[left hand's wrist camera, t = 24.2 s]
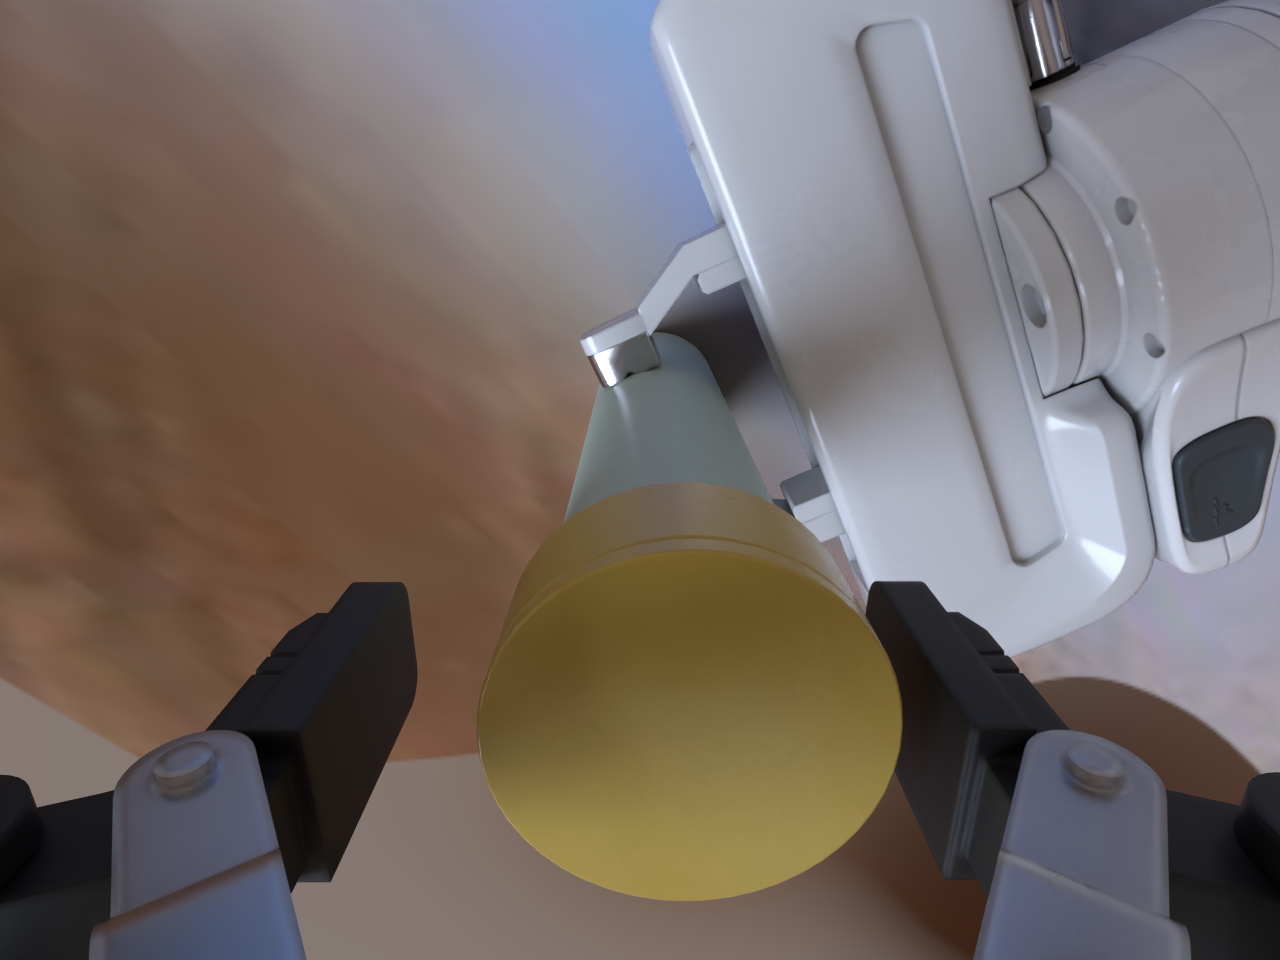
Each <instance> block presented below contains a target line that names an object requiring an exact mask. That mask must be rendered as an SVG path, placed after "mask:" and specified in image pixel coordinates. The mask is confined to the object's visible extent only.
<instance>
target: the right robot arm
mask: <svg viewBox="0 0 1280 960" xmlns="http://www.w3.org/2000/svg"><path fill="white" fill-rule="evenodd" d="M649 49H650V54H651V57H652V60H653V63H654V66H655V68H656V71H657V74H658V76H659V79H660V81H661V84H662V86H663V89H664V92H665V94H666V97H667V99H668V102H669V104H670V107H671V109H672V112H673V115H674V117H675V120H676V122H677V125H678V127H679V130H680V132H681V135H682V137H683V140H684V143H685V145H686V148H687V150H688V153H689V155H690V158H691V160H692V163H693V165H694V168H695V171H696V173H697V176H698V178H699V181H700V183H701V186H702V188H703V191H704V194H705V196H706V199H707V201H708V204H709V206H710V209H711V211H712V214H713V216H714V219H715V222H716V224H717V226H715V227H713V228H711V229H709V230H707V231H704V232H702V233H700V234H698V235H696V236H694V237H692V238H690V239H688V240H686V241H684V242H682V243H679V244H678V246H677V247H676V248H675V250H674V251H673V253H672V254H671V256H670V257H669V258H668V260H667V261H666V263H665V264H664V266H663V267H662V268H661V270H660V271H659V273H658V274H657V276H656V277H655V278H654V280H653V281H652V283H651V284H650V286H649V287H648V288H647V290H646V291H645V293H644V294H643V296H642V297H641V298H640V300H639V301H638V307H637V308H635V309H632V310H630V311H628V312H626V313H624V314H622V315H619V316H617V317H615V318H613V319H611V320H609V321H606V322H604V323H602V324H600V325H598V326H596V327H594V328H592V329H591V330H589V331H587V332H585V333H584V334H582V336H581V338H580V339H579V340H580V342H581V345H582V347H583V349H584V351H585V354H586V356H587V357H588V359H589V361H590V363H591V365H592V367H593V369H594V371H595V373H596V375H597V377H598V379H599V381H600V383H601V385H602V387H604V388H606V387H609V386H612V385H615V384H617V383H619V382H621V381H623V380H624V379H625V377H626V375H627V374H628V372H631V373H636V374H638V373H641V372H644V371H646V370H649V369H651V368H653V367H655V366H657V365H660V364H661V363H660V358H659V357H660V354H659V351H658V349H657V346H656V344H655V341H654V339H653V337H652V333H653V332H654V330H655V329H656V328H657V326H658V325H659V323H660V322H661V321H662V319H663V318H664V317H665V315H666V314H667V313H668V311H669V310H670V308H671V307H672V306H673V304H674V303H675V302H676V300H677V299H678V297H679V296H680V295H681V293H682V292H683V291H684V289H685V288H686V287H687V285H688V284H689V282H690V281H691V280H692V278H693V277H694V279H695V281H696V284H697V286H698V287H699V288H700V289H701V291H702V292H703V293H706V294H711V293H713V292H716V291H718V290H720V289H722V288H725V287H727V286H729V285H732V284H734V283H736V282H738V281H739V283H740V285H741V288H742V290H743V293H744V295H745V298H746V301H747V303H748V306H749V308H750V311H751V313H752V316H753V318H754V321H755V324H756V326H757V329H758V331H759V334H760V336H761V339H762V341H763V344H764V346H765V349H766V352H767V354H768V357H769V359H770V362H771V364H772V367H773V369H774V372H775V375H776V377H777V380H778V382H779V385H780V387H781V390H782V392H783V395H784V397H785V400H786V403H787V405H788V408H789V410H790V413H791V415H792V418H793V420H794V423H795V426H796V428H797V431H798V433H799V436H800V438H801V441H802V443H803V446H804V448H805V451H806V454H807V456H808V459H809V461H810V464H811V466H812V469H810V470H808V471H806V472H803V473H801V474H799V475H796V476H794V477H792V478H789V479H787V480H785V481H782V483H781V484H780V487H781V490H782V493H783V495H784V497H785V499H772V501H773V503H774V505H776V506H778V507H780V508H781V509H783V510H784V511H786V512H787V513H789V514H790V515H791V516H793V517H794V518H796V519H797V520H799V521H800V522H801V523H802V524H803V525H804V526H805V527H806V528H807V529H809V530H810V531H811V532H812V533H813V534H814V535H815V536H816V537H817V538H818V540H819V541H820V542H824V541H826V540H829V539H832V538H834V537H837V536H839V538H840V540H841V543H842V545H843V548H844V550H845V553H846V556H847V558H848V561H849V563H850V566H851V568H852V571H853V573H854V576H855V578H856V581H857V584H858V586H859V589H860V591H861V594H862V596H863V599H864V601H865V604H866V606H867V599H868V593H869V589H870V587H871V585H872V583H873V582H875V581H922V582H924V583H925V584H926V585H927V586H928V588H929V589H930V590H931V592H932V593H933V594H934V595H935V597H936V598H937V599H938V601H939V602H940V603H941V605H942V606H943V607H944V608H945V610H946V611H947V612H960V613H961V614H963V615H964V616H966V617H967V618H969V619H970V620H972V621H974V622H975V623H977V624H978V625H980V626H981V627H983V628H985V629H986V630H987V631H988V632H989V633H990V634H991V636H992V637H993V638H994V639H995V640H996V642H997V643H998V644H999V645H1000V646H1001V648H1002V649H1003V650H1004V654H1005V655H1008V656H1009V657H1010V658H1012V657H1014V656H1017V655H1020V654H1022V653H1025V652H1027V651H1030V650H1032V649H1035V648H1037V647H1040V646H1042V645H1045V644H1047V643H1050V642H1052V641H1055V640H1057V639H1059V638H1061V637H1064V636H1066V635H1068V634H1071V633H1073V632H1075V631H1077V630H1080V629H1082V628H1084V627H1086V626H1088V625H1090V624H1092V623H1094V622H1097V621H1098V620H1100V619H1102V618H1104V617H1106V616H1108V615H1109V614H1111V613H1112V612H1114V611H1116V610H1117V609H1118V608H1120V607H1121V606H1122V605H1124V604H1125V603H1126V602H1128V601H1129V600H1130V599H1131V598H1132V597H1133V596H1134V595H1135V594H1136V593H1137V592H1138V591H1139V589H1140V588H1141V587H1142V585H1143V584H1144V583H1145V581H1146V580H1147V578H1148V575H1149V573H1150V571H1151V568H1152V565H1153V562H1154V557H1155V558H1156V559H1158V560H1160V561H1162V562H1164V563H1166V564H1168V565H1170V566H1172V567H1174V568H1176V569H1178V570H1180V571H1182V572H1184V573H1187V574H1193V575H1195V574H1204V573H1208V572H1212V571H1216V570H1219V569H1222V568H1225V567H1228V566H1230V565H1232V564H1235V563H1237V562H1239V561H1241V560H1242V559H1244V558H1246V557H1247V556H1248V555H1249V554H1250V553H1251V552H1252V551H1253V550H1254V549H1255V547H1256V546H1257V544H1258V542H1259V540H1260V538H1261V535H1262V532H1263V529H1264V524H1265V520H1266V515H1267V510H1268V505H1269V500H1270V494H1271V490H1272V485H1273V480H1274V475H1275V471H1276V466H1277V462H1278V458H1279V454H1280V0H1228V1H1225V2H1222V3H1219V4H1216V5H1213V6H1210V7H1207V8H1205V9H1202V10H1199V11H1197V12H1195V13H1193V14H1191V15H1189V16H1187V17H1185V18H1183V19H1181V20H1179V21H1176V22H1174V23H1172V24H1170V25H1168V26H1165V27H1163V28H1161V29H1159V30H1157V31H1155V32H1153V33H1151V34H1148V35H1146V36H1144V37H1142V38H1140V39H1138V40H1136V41H1133V42H1131V43H1129V44H1127V45H1125V46H1123V47H1121V48H1119V49H1116V50H1114V51H1112V52H1110V53H1108V54H1106V55H1104V56H1101V57H1099V58H1097V59H1095V60H1093V61H1091V62H1088V63H1086V64H1084V65H1082V66H1080V65H1078V66H1075V62H1074V58H1073V52H1072V48H1071V44H1070V39H1069V35H1068V30H1067V26H1066V21H1065V17H1064V12H1063V8H1062V4H1061V0H658V2H657V4H656V7H655V10H654V13H653V16H652V19H651V22H650V29H649ZM1029 86H1030V87H1029Z"/></svg>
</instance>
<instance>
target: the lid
mask: <svg viewBox="0 0 1280 960" xmlns="http://www.w3.org/2000/svg"><path fill="white" fill-rule="evenodd" d="M902 730H903V711H902V699H901V694H900V690H899V685H898V681H897V677H896V674H895V672H894V669H893V667H892V664H891V662H890V659H889V657H888V654H887V653H886V651H885V649H884V647H883V646H882V644H881V642H880V640H879V639H878V637H877V635H876V633H875V632H874V630H873V628H872V626H871V625H870V623H869V621H868V619H867V618H866V616H865V614H864V612H863V611H862V609H861V607H860V605H859V604H858V602H857V600H856V598H855V596H854V595H853V593H852V591H851V589H850V588H849V586H848V584H847V582H846V581H845V579H844V577H843V575H842V574H841V572H840V570H839V568H838V567H837V565H836V563H835V562H834V560H833V558H832V557H831V555H830V553H829V552H828V551H827V549H826V548H825V547H824V546H823V545H822V543H821V542H820V541H819V540H818V538H817V537H816V536H815V535H814V534H813V533H812V532H811V531H810V530H809V529H807V528H806V527H805V526H804V525H803V524H802V523H801V522H800V521H799V520H797V519H796V518H794V517H793V516H791V515H790V514H789V513H787V512H786V511H784V510H783V509H781V508H780V507H778V506H776V505H774V504H772V503H770V502H768V501H766V500H764V499H762V498H760V497H758V496H755V495H752V494H749V493H746V492H743V491H741V490H738V489H734V488H729V487H724V486H720V485H715V484H707V483H695V482H673V483H660V484H654V485H648V486H641V487H637V488H634V489H630V490H627V491H624V492H620V493H617V494H614V495H612V496H610V497H607V498H605V499H603V500H601V501H598V502H596V503H594V504H592V505H591V506H589V507H587V508H586V509H584V510H582V511H580V512H579V513H577V514H575V515H574V516H573V517H571V518H570V519H569V520H568V521H566V522H565V523H564V524H563V525H561V526H560V527H559V528H558V529H556V530H555V531H554V533H553V534H552V535H551V536H550V537H549V538H548V539H547V540H546V541H545V542H544V543H543V544H542V545H541V546H540V548H539V549H538V550H537V552H536V553H535V555H534V556H533V557H532V559H531V560H530V561H529V563H528V565H527V567H526V569H525V571H524V572H523V574H522V576H521V578H520V580H519V582H518V585H517V588H516V591H515V594H514V597H513V600H512V603H511V605H510V608H509V611H508V614H507V617H506V620H505V623H504V626H503V629H502V632H501V635H500V638H499V640H498V643H497V646H496V649H495V652H494V655H493V658H492V661H491V664H490V667H489V670H488V673H487V675H486V678H485V681H484V684H483V687H482V690H481V695H480V701H479V706H478V712H477V742H478V749H479V756H480V761H481V764H482V768H483V771H484V774H485V778H486V781H487V784H488V786H489V788H490V790H491V792H492V794H493V796H494V798H495V800H496V802H497V804H498V806H499V807H500V809H501V810H502V811H503V813H504V815H505V816H506V818H507V819H508V821H509V822H510V823H511V824H512V825H513V827H514V828H515V829H516V830H517V831H518V832H519V833H520V834H521V836H522V837H523V838H524V839H525V840H526V841H527V842H528V843H530V844H531V845H532V846H533V847H534V848H535V849H537V850H538V851H539V852H540V853H541V854H542V855H544V856H545V857H546V858H548V859H549V860H551V861H553V862H554V863H555V864H557V865H558V866H560V867H561V868H563V869H565V870H567V871H568V872H570V873H572V874H574V875H576V876H578V877H580V878H582V879H584V880H586V881H589V882H592V883H594V884H596V885H599V886H602V887H604V888H607V889H610V890H614V891H618V892H621V893H625V894H628V895H633V896H639V897H645V898H651V899H659V900H673V901H697V900H711V899H719V898H727V897H733V896H737V895H742V894H746V893H750V892H755V891H758V890H761V889H764V888H767V887H770V886H773V885H776V884H779V883H781V882H783V881H785V880H787V879H790V878H792V877H794V876H796V875H798V874H801V873H803V872H804V871H806V870H807V869H809V868H811V867H813V866H814V865H816V864H818V863H819V862H821V861H823V860H824V859H825V858H827V857H828V856H829V855H831V854H832V853H833V852H835V851H836V850H837V849H839V848H840V847H841V846H842V845H843V844H844V843H846V842H847V841H848V840H849V839H850V838H851V837H852V836H853V835H854V834H855V833H856V832H857V831H858V830H859V829H860V828H861V826H862V825H863V824H864V823H865V821H866V820H867V819H868V818H869V817H870V815H871V814H872V813H873V812H874V810H875V808H876V807H877V805H878V803H879V802H880V800H881V799H882V797H883V795H884V794H885V792H886V790H887V787H888V785H889V783H890V781H891V778H892V776H893V774H894V771H895V768H896V764H897V760H898V757H899V753H900V749H901V740H902Z"/></svg>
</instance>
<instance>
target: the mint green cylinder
mask: <svg viewBox="0 0 1280 960" xmlns="http://www.w3.org/2000/svg"><path fill="white" fill-rule="evenodd" d="M652 337H653V339H654V341H655V344H656V346H657V349H658V351H659V354H660V357H659V358H660V363H661V364H660V365H657V366H655V367H653V368H651V369H649V370H646V371H644V372H641V373H638V374H636V373H631V372H628V374H627V375H626V377H625V379H624V380H623V381H621V382H619V383H617V384H615V385H612V386H609V387H606V388H604V387H602V385H601V383H600V385H599V389H598V393H597V397H596V401H595V404H594V408H593V412H592V416H591V420H590V424H589V428H588V431H587V435H586V439H585V443H584V447H583V451H582V454H581V458H580V462H579V466H578V470H577V474H576V478H575V481H574V485H573V489H572V493H571V497H570V501H569V505H568V508H567V512H566V516H565V520H564V523H565V522H566V521H568V520H569V519H570V518H571V517H573V516H574V515H575V514H577V513H579V512H580V511H582V510H584V509H586V508H587V507H589V506H591V505H592V504H594V503H596V502H598V501H601V500H603V499H605V498H607V497H610V496H612V495H614V494H617V493H620V492H624V491H627V490H630V489H634V488H637V487H641V486H648V485H654V484H660V483H673V482H695V483H707V484H715V485H720V486H724V487H729V488H734V489H738V490H741V491H743V492H746V493H749V494H752V495H755V496H758V497H760V498H762V499H764V500H766V501H768V502H770V503H772V504H774V503H773V501H772V499H771V497H770V495H769V493H768V491H767V488H766V486H765V484H764V482H763V480H762V478H761V476H760V474H759V471H758V469H757V467H756V465H755V463H754V461H753V459H752V456H751V454H750V452H749V450H748V448H747V446H746V444H745V442H744V439H743V437H742V435H741V433H740V431H739V429H738V427H737V425H736V422H735V420H734V418H733V416H732V414H731V412H730V410H729V407H728V405H727V403H726V401H725V399H724V397H723V395H722V393H721V390H720V388H719V386H718V384H717V382H716V380H715V378H714V376H713V373H712V371H711V369H710V367H709V365H708V363H707V361H706V359H705V358H704V356H703V355H702V353H701V352H700V351H699V350H698V349H697V348H696V347H695V346H694V345H693V344H691V343H690V342H688V341H687V340H685V339H683V338H681V337H679V336H676V335H673V334H669V333H662V332H653V333H652Z"/></svg>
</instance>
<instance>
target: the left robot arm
mask: <svg viewBox="0 0 1280 960" xmlns="http://www.w3.org/2000/svg"><path fill="white" fill-rule="evenodd" d="M865 616H866V618H867V619H868V621H869V623H870V625H871V626H872V628H873V630H874V632H875V633H876V635H877V637H878V639H879V640H880V642H881V644H882V646H883V647H884V649H885V651H886V653H887V654H888V657H889V659H890V662H891V664H892V667H893V669H894V672H895V674H896V677H897V681H898V685H899V690H900V694H901V699H902V711H903V730H902V740H901V749H900V753H899V757H898V760H897V764H896V768H895V773H896V775H897V777H898V779H899V782H900V784H901V786H902V788H903V790H904V793H905V795H906V797H907V799H908V801H909V804H910V806H911V808H912V810H913V812H914V815H915V817H916V819H917V821H918V823H919V826H920V828H921V830H922V832H923V834H924V837H925V839H926V841H927V843H928V845H929V848H930V850H931V852H932V854H933V856H934V859H935V861H936V863H937V865H938V867H939V870H940V872H941V874H942V876H943V878H944V880H978V882H979V884H980V886H981V888H982V890H983V892H984V894H985V896H986V898H987V900H988V901H987V906H986V910H985V914H984V918H983V922H982V926H981V930H980V935H979V939H978V943H977V947H976V951H975V955H974V959H973V960H1280V773H1279V772H1274V773H1265V774H1261V775H1258V776H1256V777H1254V778H1252V780H1251V781H1250V782H1249V783H1248V786H1247V788H1246V791H1245V794H1244V797H1243V799H1242V802H1241V805H1240V806H1237V805H1233V804H1228V803H1224V802H1219V801H1215V800H1210V799H1205V798H1201V797H1196V796H1192V795H1187V794H1183V793H1178V792H1173V791H1169V790H1166V789H1165V787H1164V785H1163V783H1162V781H1161V780H1160V778H1159V777H1158V775H1157V774H1156V773H1155V772H1154V771H1153V770H1152V769H1151V768H1150V767H1149V766H1148V765H1147V764H1146V763H1145V762H1143V761H1142V760H1141V759H1140V758H1138V757H1137V756H1135V755H1134V754H1133V753H1131V752H1129V751H1128V750H1126V749H1124V748H1122V747H1121V746H1119V745H1117V744H1114V743H1112V742H1110V741H1108V740H1105V739H1102V738H1100V737H1097V736H1094V735H1090V734H1087V733H1082V732H1077V731H1070V730H1069V728H1068V727H1067V726H1066V725H1065V724H1064V722H1063V721H1062V720H1061V719H1060V718H1059V716H1058V715H1057V714H1056V713H1055V712H1054V710H1053V709H1052V708H1051V707H1050V706H1049V704H1048V703H1047V702H1046V701H1045V700H1044V698H1043V697H1042V696H1041V695H1040V694H1039V692H1038V691H1037V690H1036V689H1035V687H1034V686H1033V685H1032V684H1031V683H1030V681H1029V680H1028V679H1027V678H1026V677H1025V675H1024V674H1023V673H1019V668H1018V667H1017V666H1016V665H1015V663H1014V662H1013V661H1012V660H1011V659H1010V657H1009V656H1008V655H1005V654H1004V650H1003V649H1002V648H1001V646H1000V645H999V644H998V643H997V642H996V640H995V639H994V638H993V637H992V636H991V634H990V633H989V632H988V631H987V630H986V629H985V628H983V627H981V626H980V625H978V624H977V623H975V622H974V621H972V620H970V619H969V618H967V617H966V616H964V615H963V614H961V613H960V612H947V611H946V610H945V608H944V607H943V606H942V605H941V603H940V602H939V601H938V599H937V598H936V597H935V595H934V594H933V593H932V592H931V590H930V589H929V588H928V586H927V585H926V584H925V583H924V582H922V581H875V582H873V583H872V585H871V587H870V589H869V593H868V599H867V607H866V615H865ZM416 686H417V661H416V653H415V646H414V638H413V630H412V622H411V614H410V607H409V599H408V593H407V590H406V587H405V585H404V584H403V583H401V582H354V583H352V584H351V585H350V586H349V587H348V588H347V590H346V591H345V592H344V594H343V595H342V596H341V597H340V599H339V600H338V601H337V603H336V604H335V605H334V606H333V608H332V609H331V610H330V612H329V613H316V614H315V615H313V616H312V617H310V618H309V619H307V620H305V621H304V622H302V623H301V624H299V625H298V626H296V627H295V628H293V629H291V630H290V631H288V633H287V634H286V635H285V636H284V637H283V639H282V640H281V641H280V642H279V643H278V645H277V646H276V647H275V648H274V649H273V650H272V652H271V656H270V657H267V658H266V659H265V660H264V661H263V662H262V664H261V665H260V666H259V667H258V668H257V670H256V674H255V675H252V676H251V677H250V678H249V679H248V680H247V682H246V683H245V684H244V685H243V686H242V688H241V689H240V690H239V691H238V692H237V693H236V695H235V696H234V697H233V698H232V699H231V701H230V702H229V703H228V704H227V705H226V707H225V708H224V709H223V710H222V711H221V713H220V714H219V715H218V716H217V717H216V719H215V720H214V721H213V722H212V723H211V725H210V726H209V727H208V728H207V729H206V731H203V732H198V733H193V734H190V735H186V736H183V737H180V738H177V739H175V740H172V741H170V742H168V743H166V744H163V745H161V746H159V747H158V748H156V749H154V750H152V751H151V752H149V753H147V754H146V755H145V756H143V757H142V758H140V759H139V760H138V761H136V762H135V763H134V764H133V765H132V766H131V767H130V768H129V769H128V770H127V771H126V772H125V773H124V774H123V775H122V777H121V778H120V780H119V781H118V783H117V785H116V787H115V789H114V790H113V791H109V792H105V793H101V794H97V795H92V796H88V797H83V798H78V799H74V800H69V801H65V802H60V803H56V804H51V805H47V806H42V807H37V806H36V804H35V801H34V798H33V796H32V793H31V790H30V788H29V785H28V784H27V783H26V782H25V781H24V780H22V779H20V778H18V777H14V776H10V775H0V960H306V955H305V951H304V947H303V943H302V939H301V935H300V930H299V926H298V922H297V918H296V914H295V910H294V906H293V901H292V897H291V893H292V891H293V889H294V887H295V885H296V883H297V882H331V880H332V878H333V876H334V874H335V871H336V869H337V867H338V865H339V863H340V861H341V858H342V856H343V854H344V852H345V850H346V848H347V845H348V843H349V841H350V839H351V837H352V835H353V832H354V830H355V828H356V826H357V824H358V821H359V819H360V817H361V815H362V813H363V811H364V809H365V806H366V804H367V802H368V800H369V798H370V796H371V793H372V791H373V789H374V787H375V785H376V783H377V780H378V778H379V776H380V774H381V772H382V770H383V767H384V765H385V763H386V761H387V759H388V757H389V754H390V752H391V750H392V748H393V746H394V744H395V741H396V739H397V737H398V735H399V733H400V731H401V728H402V726H403V724H404V722H405V720H406V718H407V715H408V713H409V711H410V709H411V707H412V704H413V701H414V697H415V693H416Z"/></svg>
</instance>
